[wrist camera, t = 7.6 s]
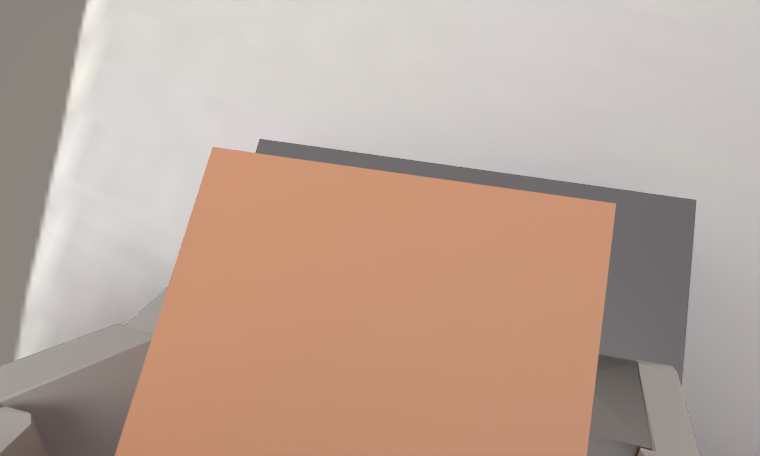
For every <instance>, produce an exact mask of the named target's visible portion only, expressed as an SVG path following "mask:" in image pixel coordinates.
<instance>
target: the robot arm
mask: <svg viewBox="0 0 760 456" xmlns="http://www.w3.org/2000/svg"><path fill="white" fill-rule="evenodd" d="M167 289H168V287H167V288H166V289H165V290H164V291H163V292H162V293H161V294H160V295H158V296H157V297H156V298H155V299H154V300H153V301H152V302H151V303H150V304H149V305H147V306H146V307H145V308H144V309H143V310H142V311H141V312H140V313H139V314H138V315H137V316H135V317H134V318H133V319H132V320H131V321H130V322H129V323H128V324H127V325H126V326H123V325H119V324H115V325H113V326H110V327H107V328H104V329H102V330H99V331H96V332H93V333H91V334H88V335H85V336H82V337H80V338H77V339H74V340H71V341H69V342H66V343H63V344H60V345H58V346H55V347H52V348H49V349H47V350H44V351H41V352H38V353H36V354H33V355H30V356H27V357H25V358H22V359H19V360H16V361H14V362H11V363H8V364H5V365H3V366H0V456H115V453H116V450H117V446H118V443H119V440H120V437H121V434H122V431H123V428H124V424H125V421H126V418H127V415H128V412H129V409H130V406H131V402H132V399H133V396H134V393H135V390H136V387H137V384H138V380H139V377H140V374H141V371H142V368H143V365H144V362H145V358H146V355H147V352H148V349H149V346H150V343H151V340H152V336H153V333H154V330H155V327H156V324H157V321H158V317H159V314H160V311H161V308H162V305H163V302H164V299H165V295H166V292H167ZM587 456H700V454H699V450H698V446H697V443H696V439H695V435H694V432H693V428H692V424H691V421H690V417H689V413H688V410H687V406H686V402H685V398H684V395H683V391H682V387H681V384H680V380H679V376H678V373H677V371H676V370H675V369H674V367H673V366H669V365H664V364H658V363H653V362H647V361H642V360H636V359H634V360H631V359H626V358H621V357H616V356H611V355H606V354H601V353H599V355H598V364H597V373H596V381H595V390H594V398H593V407H592V415H591V424H590V433H589V441H588V450H587Z"/></svg>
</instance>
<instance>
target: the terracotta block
mask: <svg viewBox="0 0 760 456" xmlns="http://www.w3.org/2000/svg"><path fill="white" fill-rule="evenodd" d="M615 209H616V203H609V202H602V201H595V200H587V199H580V198H573V197H566V196H559V195H552V194H545V193H537V192H530V191H523V190H516V189H509V188H502V187H494V186H487V185H480V184H473V183H466V182H459V181H452V180H444V179H437V178H430V177H423V176H416V175H409V174H401V173H394V172H387V171H380V170H373V169H366V168H359V167H351V166H344V165H337V164H330V163H323V162H316V161H309V160H301V159H294V158H287V157H280V156H273V155H266V154H258V153H251V152H244V151H237V150H230V149H223V148H216V147H213V148H212V151H211V154H210V157H209V160H208V163H207V167H206V170H205V173H204V176H203V179H202V182H201V185H200V189H199V192H198V195H197V198H196V201H195V204H194V207H193V211H192V214H191V217H190V220H189V223H188V226H187V229H186V233H185V236H184V239H183V242H182V245H181V248H180V251H179V255H178V258H177V261H176V264H175V267H174V270H173V273H172V277H171V280H170V283H169V286H168V289H167V292H166V295H165V299H164V302H163V305H162V308H161V311H160V314H159V317H158V321H157V324H156V327H155V330H154V333H153V336H152V340H151V343H150V346H149V349H148V352H147V355H146V358H145V362H144V365H143V368H142V371H141V374H140V377H139V380H138V384H137V387H136V390H135V393H134V396H133V399H132V402H131V406H130V409H129V412H128V415H127V418H126V421H125V424H124V428H123V431H122V434H121V437H120V440H119V443H118V446H117V450H116V453H115V456H587V450H588V441H589V433H590V424H591V415H592V407H593V398H594V390H595V381H596V373H597V364H598V355H599V347H600V338H601V330H602V321H603V312H604V304H605V295H606V287H607V278H608V270H609V261H610V252H611V244H612V235H613V227H614V218H615Z"/></svg>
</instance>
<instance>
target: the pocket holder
mask: <svg viewBox="0 0 760 456" xmlns="http://www.w3.org/2000/svg"><path fill="white" fill-rule="evenodd" d="M256 153H258V154H266V155H273V156H280V157H287V158H294V159H301V160H309V161H316V162H323V163H330V164H337V165H344V166H351V167H359V168H366V169H373V170H380V171H387V172H394V173H401V174H409V175H416V176H423V177H430V178H437V179H444V180H452V181H459V182H466V183H473V184H480V185H487V186H494V187H502V188H509V189H516V190H523V191H530V192H537V193H545V194H552V195H559V196H566V197H573V198H580V199H587V200H595V201H602V202H609V203H616V209H615V218H614V227H613V235H612V244H611V252H610V261H609V270H608V278H607V287H606V295H605V304H604V312H603V321H602V330H601V338H600V347H599V353H601V354H606V355H611V356H616V357H621V358H626V359H631V360H634V359H636V360H642V361H647V362H653V363H658V364H664V365H669V366H673V367H674V369H675V370H676V371H677V373H678V376H679V380H680V384H681V386H682V373H683V361H684V348H685V336H686V323H687V311H688V298H689V286H690V273H691V261H692V248H693V236H694V223H695V211H696V200H692V199H685V198H677V197H670V196H663V195H656V194H649V193H642V192H635V191H628V190H620V189H613V188H606V187H599V186H592V185H585V184H578V183H570V182H563V181H556V180H549V179H542V178H535V177H528V176H520V175H513V174H506V173H499V172H492V171H485V170H478V169H471V168H463V167H456V166H449V165H442V164H435V163H428V162H421V161H413V160H406V159H399V158H392V157H385V156H378V155H371V154H364V153H356V152H349V151H342V150H335V149H328V148H321V147H314V146H306V145H299V144H292V143H285V142H278V141H271V140H264V139H260V140H259V143H258V146H257V150H256Z"/></svg>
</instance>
